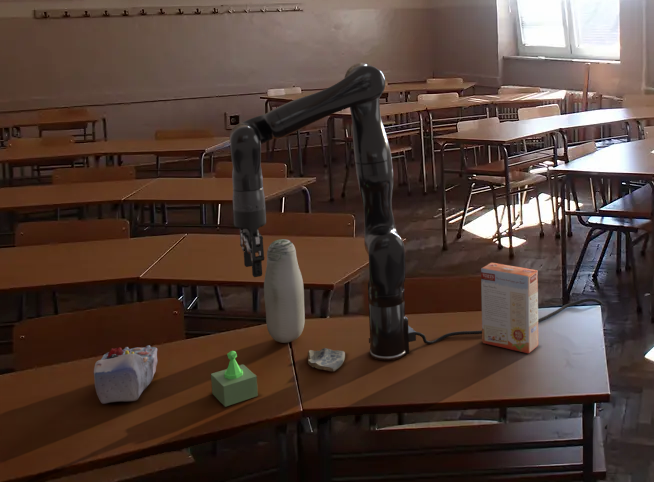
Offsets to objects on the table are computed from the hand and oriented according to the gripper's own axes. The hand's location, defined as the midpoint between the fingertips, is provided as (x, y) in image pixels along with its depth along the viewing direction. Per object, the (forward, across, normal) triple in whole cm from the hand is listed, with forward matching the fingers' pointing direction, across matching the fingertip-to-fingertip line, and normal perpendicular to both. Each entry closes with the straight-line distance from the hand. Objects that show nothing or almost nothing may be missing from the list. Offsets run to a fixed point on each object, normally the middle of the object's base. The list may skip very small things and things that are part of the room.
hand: (253, 271), depth 202 cm
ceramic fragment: (+27, -3, -15) cm, 31 cm away
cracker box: (+26, -17, -62) cm, 69 cm away
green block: (+26, -9, +8) cm, 29 cm away
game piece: (+21, -9, +8) cm, 24 cm away
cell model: (+26, +7, +30) cm, 41 cm away
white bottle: (+26, +15, -11) cm, 32 cm away
